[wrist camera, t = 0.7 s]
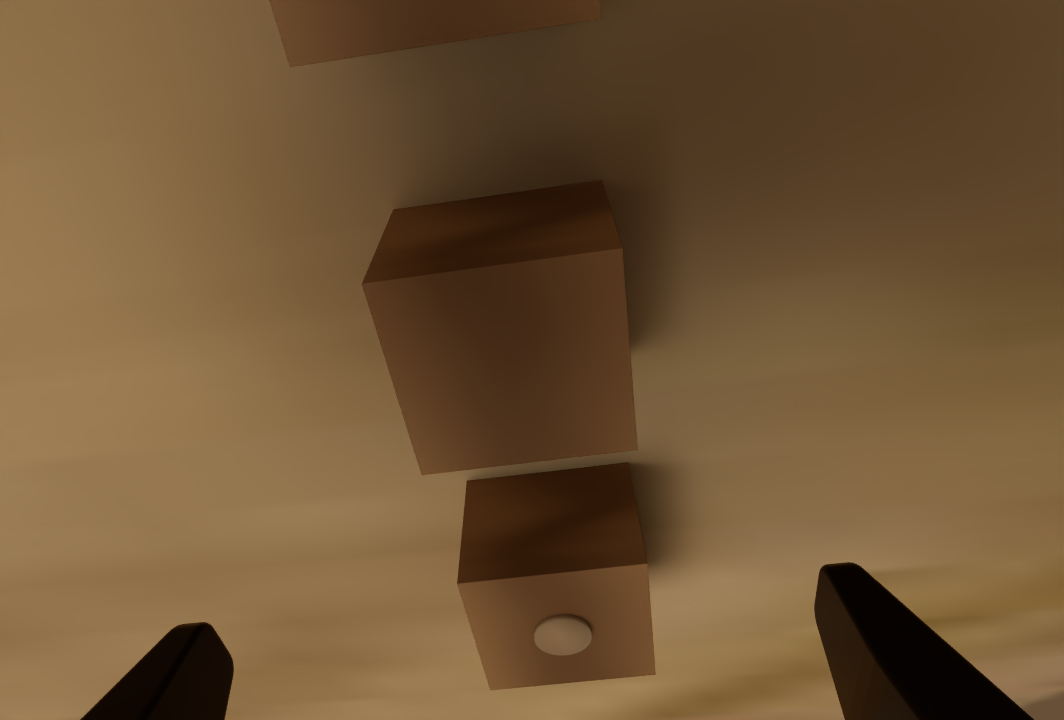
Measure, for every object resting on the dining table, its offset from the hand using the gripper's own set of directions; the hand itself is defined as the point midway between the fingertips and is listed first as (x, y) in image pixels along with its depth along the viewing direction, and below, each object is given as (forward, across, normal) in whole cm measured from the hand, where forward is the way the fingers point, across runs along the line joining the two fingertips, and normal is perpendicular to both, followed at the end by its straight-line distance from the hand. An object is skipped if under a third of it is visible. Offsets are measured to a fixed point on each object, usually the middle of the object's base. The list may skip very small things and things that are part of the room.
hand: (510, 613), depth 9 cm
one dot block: (+10, 0, +9) cm, 14 cm away
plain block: (+10, 0, 0) cm, 10 cm away
